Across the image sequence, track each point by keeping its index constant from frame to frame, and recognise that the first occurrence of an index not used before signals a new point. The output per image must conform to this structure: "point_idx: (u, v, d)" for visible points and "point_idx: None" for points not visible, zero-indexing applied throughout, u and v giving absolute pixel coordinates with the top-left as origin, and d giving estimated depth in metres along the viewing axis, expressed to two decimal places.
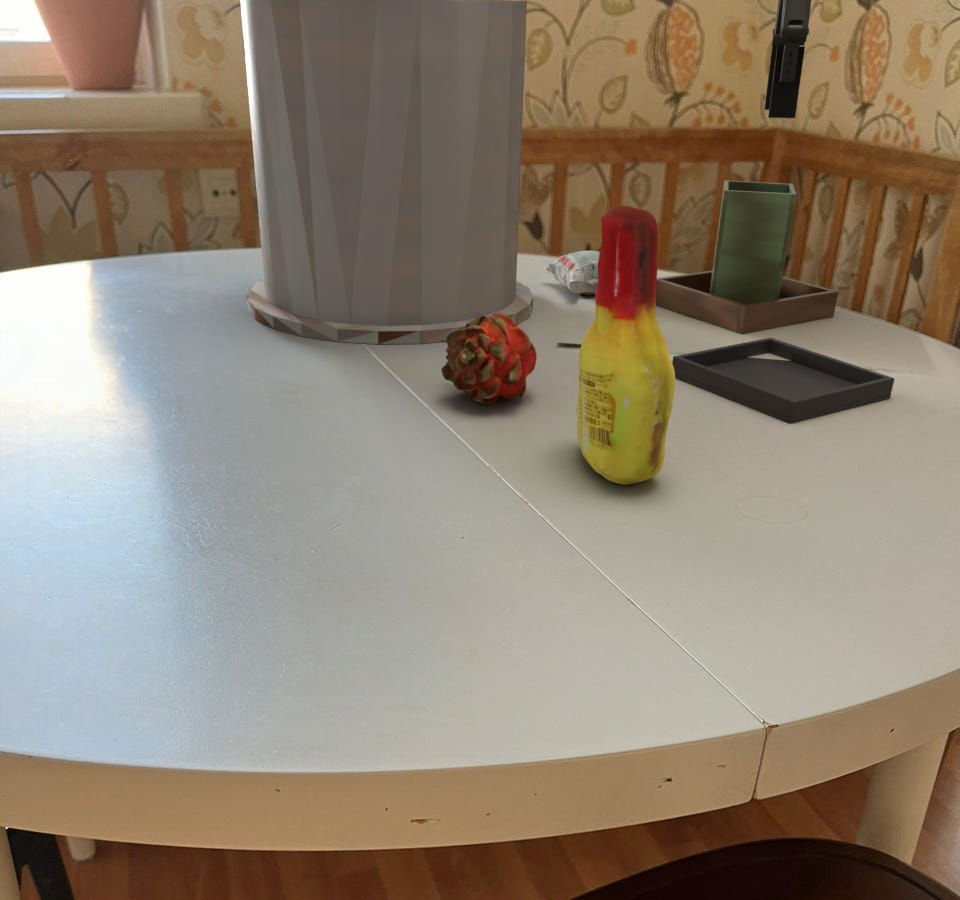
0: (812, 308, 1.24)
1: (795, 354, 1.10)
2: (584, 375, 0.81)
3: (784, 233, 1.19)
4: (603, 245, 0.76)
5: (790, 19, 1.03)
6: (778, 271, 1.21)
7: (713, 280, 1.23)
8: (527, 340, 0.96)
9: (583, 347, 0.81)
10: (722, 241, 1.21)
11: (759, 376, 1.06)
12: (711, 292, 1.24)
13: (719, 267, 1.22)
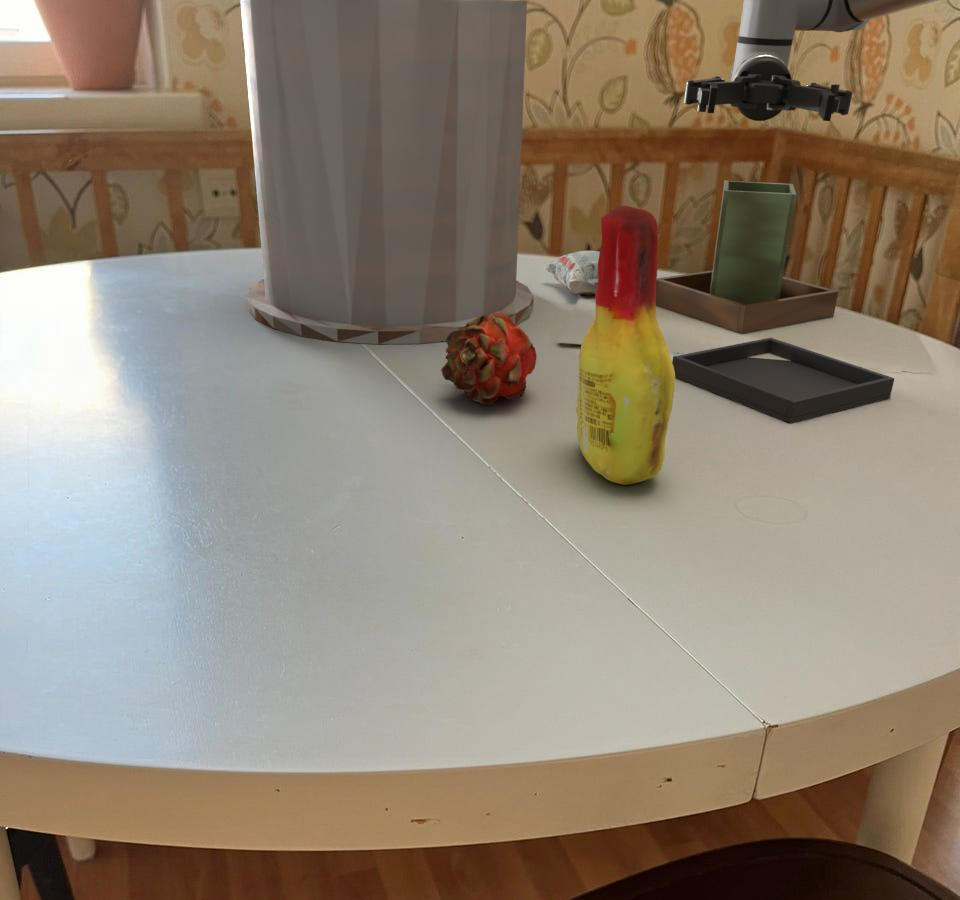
0: (812, 308, 1.24)
1: (795, 354, 1.10)
2: (584, 375, 0.81)
3: (784, 233, 1.19)
4: (603, 245, 0.76)
5: None
6: (778, 271, 1.21)
7: (713, 280, 1.23)
8: (527, 340, 0.96)
9: (583, 347, 0.81)
10: (722, 241, 1.21)
11: (759, 376, 1.06)
12: (711, 292, 1.24)
13: (719, 267, 1.22)
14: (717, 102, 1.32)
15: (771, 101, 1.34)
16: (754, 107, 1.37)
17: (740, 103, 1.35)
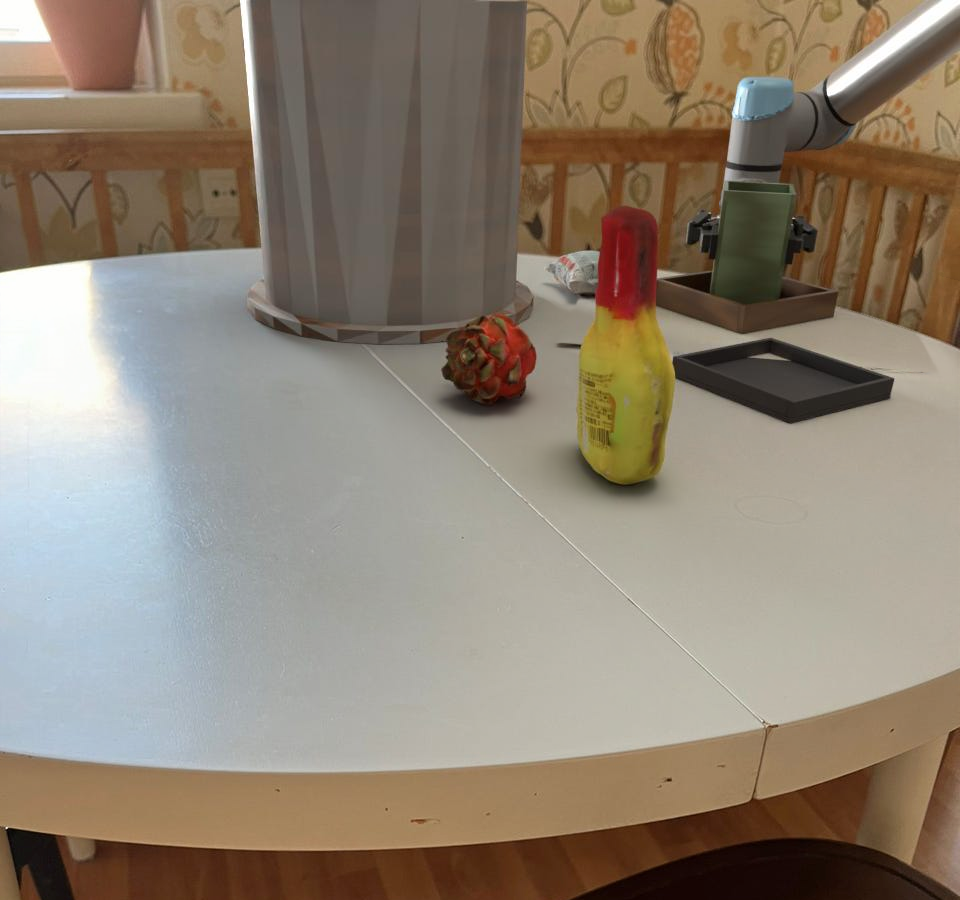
0: (812, 308, 1.24)
1: (795, 354, 1.10)
2: (584, 375, 0.81)
3: (784, 233, 1.19)
4: (603, 245, 0.76)
5: None
6: (778, 271, 1.21)
7: (713, 280, 1.23)
8: (527, 340, 0.96)
9: (583, 347, 0.81)
10: (722, 241, 1.21)
11: (759, 376, 1.06)
12: (711, 292, 1.24)
13: (719, 267, 1.22)
14: None
15: None
16: None
17: None
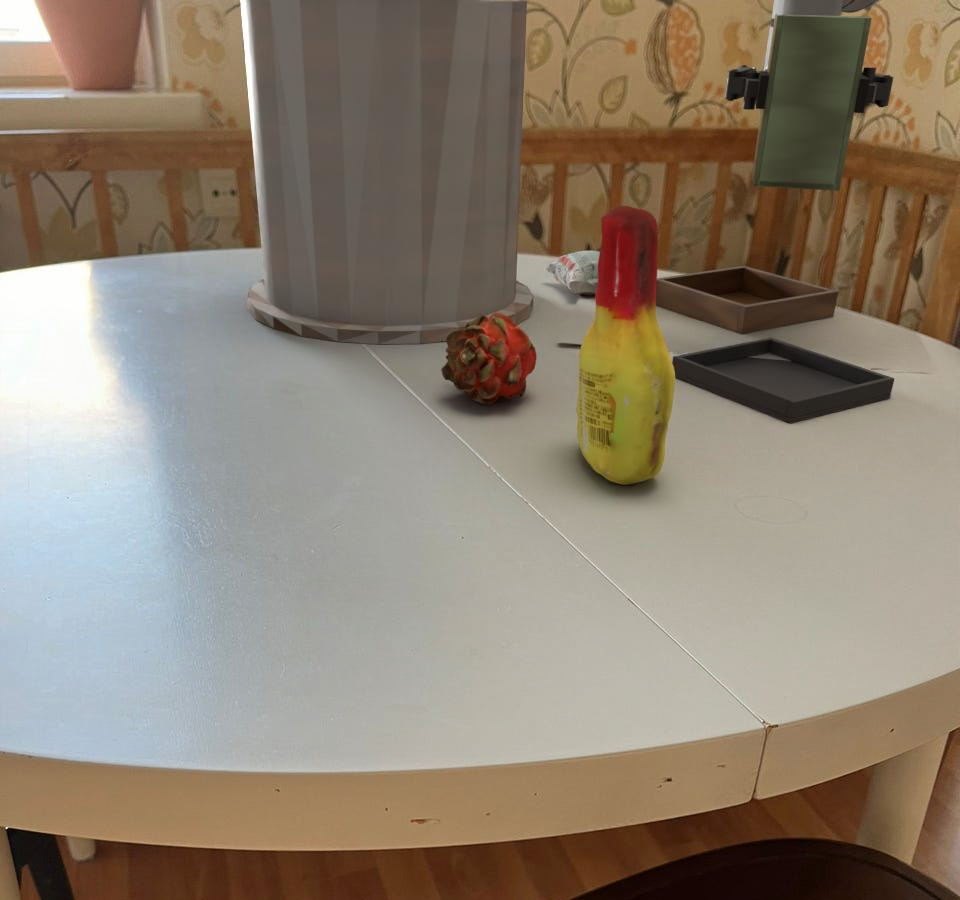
0: (812, 308, 1.24)
1: (795, 354, 1.10)
2: (584, 375, 0.81)
3: (854, 72, 0.93)
4: (603, 245, 0.76)
5: None
6: (845, 124, 0.95)
7: (761, 138, 0.97)
8: (527, 340, 0.96)
9: (583, 347, 0.81)
10: (774, 85, 0.95)
11: (759, 376, 1.06)
12: (758, 154, 0.98)
13: (769, 120, 0.96)
14: None
15: None
16: None
17: None
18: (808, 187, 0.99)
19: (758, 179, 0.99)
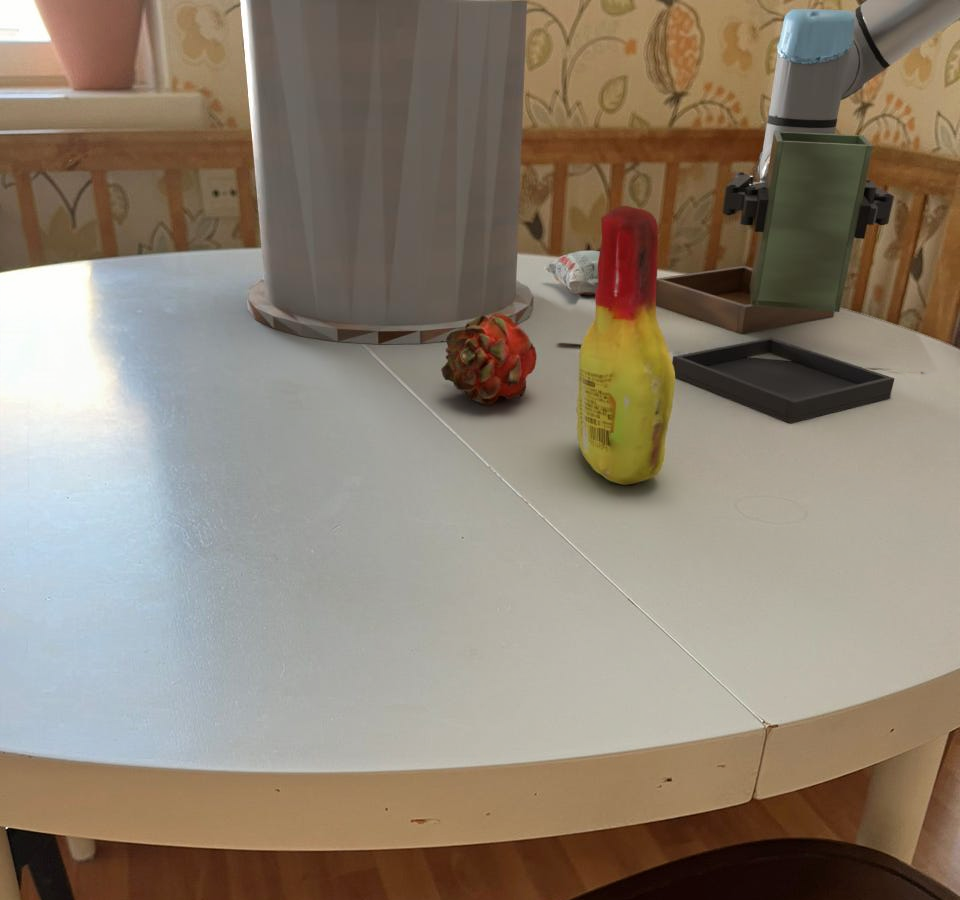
0: None
1: (795, 354, 1.10)
2: (584, 375, 0.81)
3: (855, 197, 0.91)
4: (603, 245, 0.76)
5: None
6: (845, 247, 0.94)
7: (760, 259, 0.96)
8: (527, 340, 0.96)
9: (583, 347, 0.81)
10: (773, 208, 0.93)
11: (759, 376, 1.06)
12: (757, 275, 0.96)
13: (768, 242, 0.95)
14: None
15: None
16: None
17: None
18: (807, 308, 0.97)
19: (757, 299, 0.97)
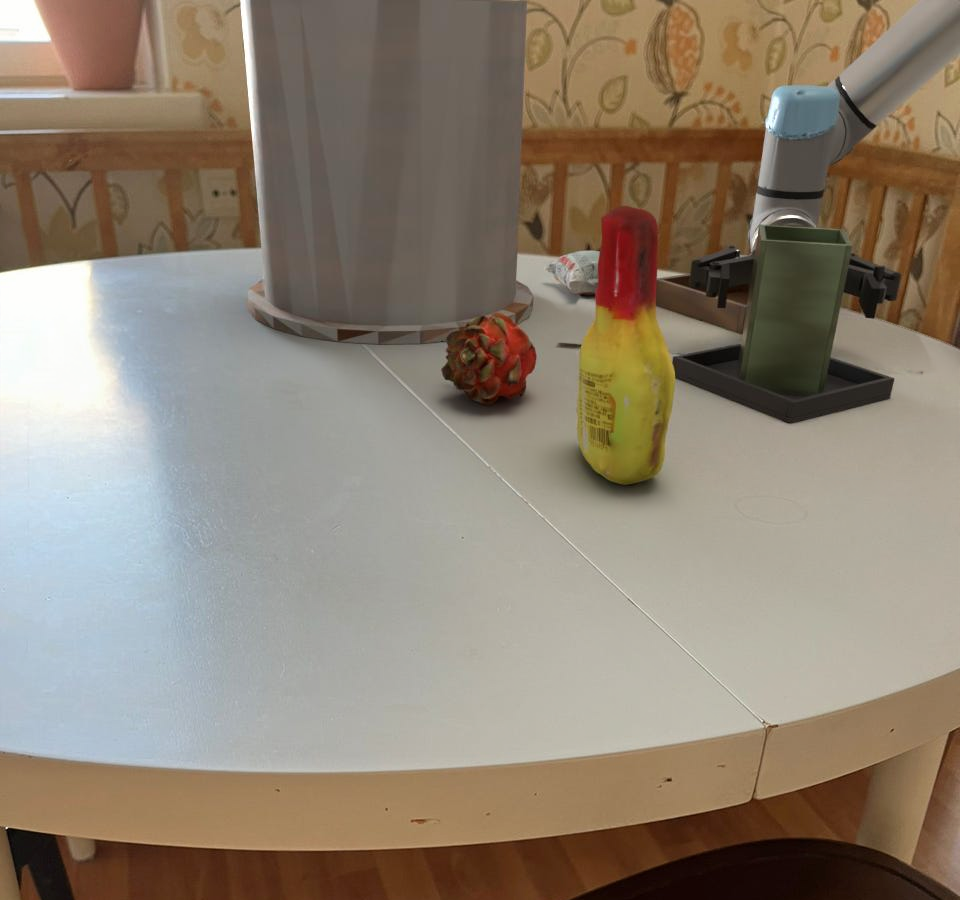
0: None
1: None
2: (584, 375, 0.81)
3: (836, 293, 0.96)
4: (603, 245, 0.76)
5: None
6: (827, 338, 0.98)
7: (746, 348, 1.00)
8: (527, 340, 0.96)
9: (583, 347, 0.81)
10: (758, 301, 0.97)
11: None
12: (743, 362, 1.01)
13: (753, 332, 0.99)
14: (730, 284, 1.06)
15: None
16: None
17: None
18: (792, 393, 1.01)
19: None
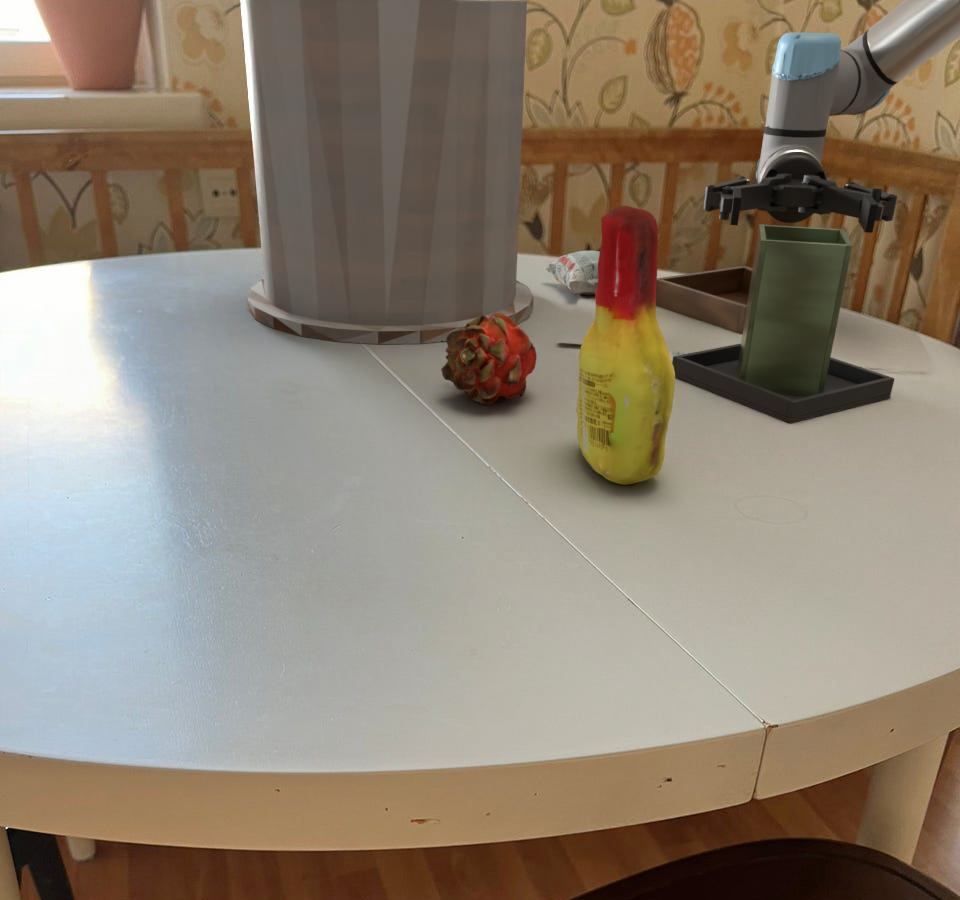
0: None
1: None
2: (584, 375, 0.81)
3: (836, 293, 0.96)
4: (603, 245, 0.76)
5: None
6: (827, 338, 0.98)
7: (746, 348, 1.00)
8: (527, 340, 0.96)
9: (583, 347, 0.81)
10: (758, 301, 0.97)
11: None
12: (743, 362, 1.01)
13: (753, 332, 0.99)
14: (741, 208, 1.16)
15: (803, 204, 1.18)
16: (784, 210, 1.21)
17: (767, 207, 1.19)
18: (792, 393, 1.01)
19: None
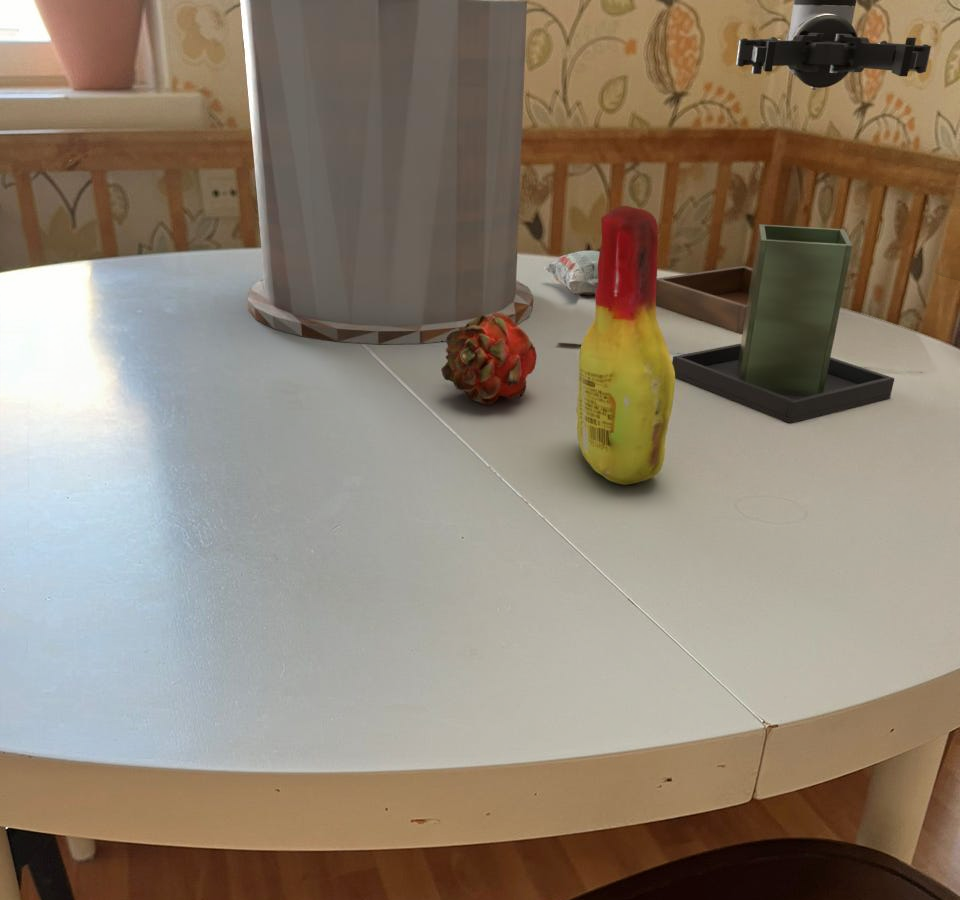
0: None
1: None
2: (584, 375, 0.81)
3: (836, 293, 0.96)
4: (603, 245, 0.76)
5: None
6: (827, 338, 0.98)
7: (746, 348, 1.00)
8: (527, 340, 0.96)
9: (583, 347, 0.81)
10: (758, 301, 0.97)
11: None
12: (743, 362, 1.01)
13: (753, 332, 0.99)
14: (774, 63, 1.16)
15: (835, 62, 1.18)
16: (815, 70, 1.21)
17: (799, 66, 1.19)
18: (792, 393, 1.01)
19: None
